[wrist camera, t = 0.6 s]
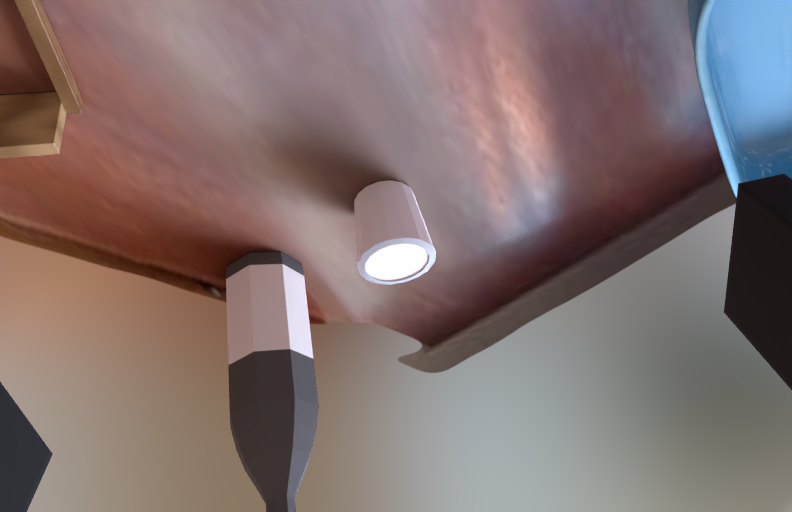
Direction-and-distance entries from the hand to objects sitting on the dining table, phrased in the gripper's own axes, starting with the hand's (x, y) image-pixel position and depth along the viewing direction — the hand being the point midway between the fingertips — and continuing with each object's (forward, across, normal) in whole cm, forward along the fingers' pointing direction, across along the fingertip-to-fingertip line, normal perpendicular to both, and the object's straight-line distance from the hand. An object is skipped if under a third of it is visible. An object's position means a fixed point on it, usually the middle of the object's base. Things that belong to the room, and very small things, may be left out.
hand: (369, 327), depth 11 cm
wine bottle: (+46, -14, -27) cm, 55 cm away
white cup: (+44, 0, -20) cm, 48 cm away
